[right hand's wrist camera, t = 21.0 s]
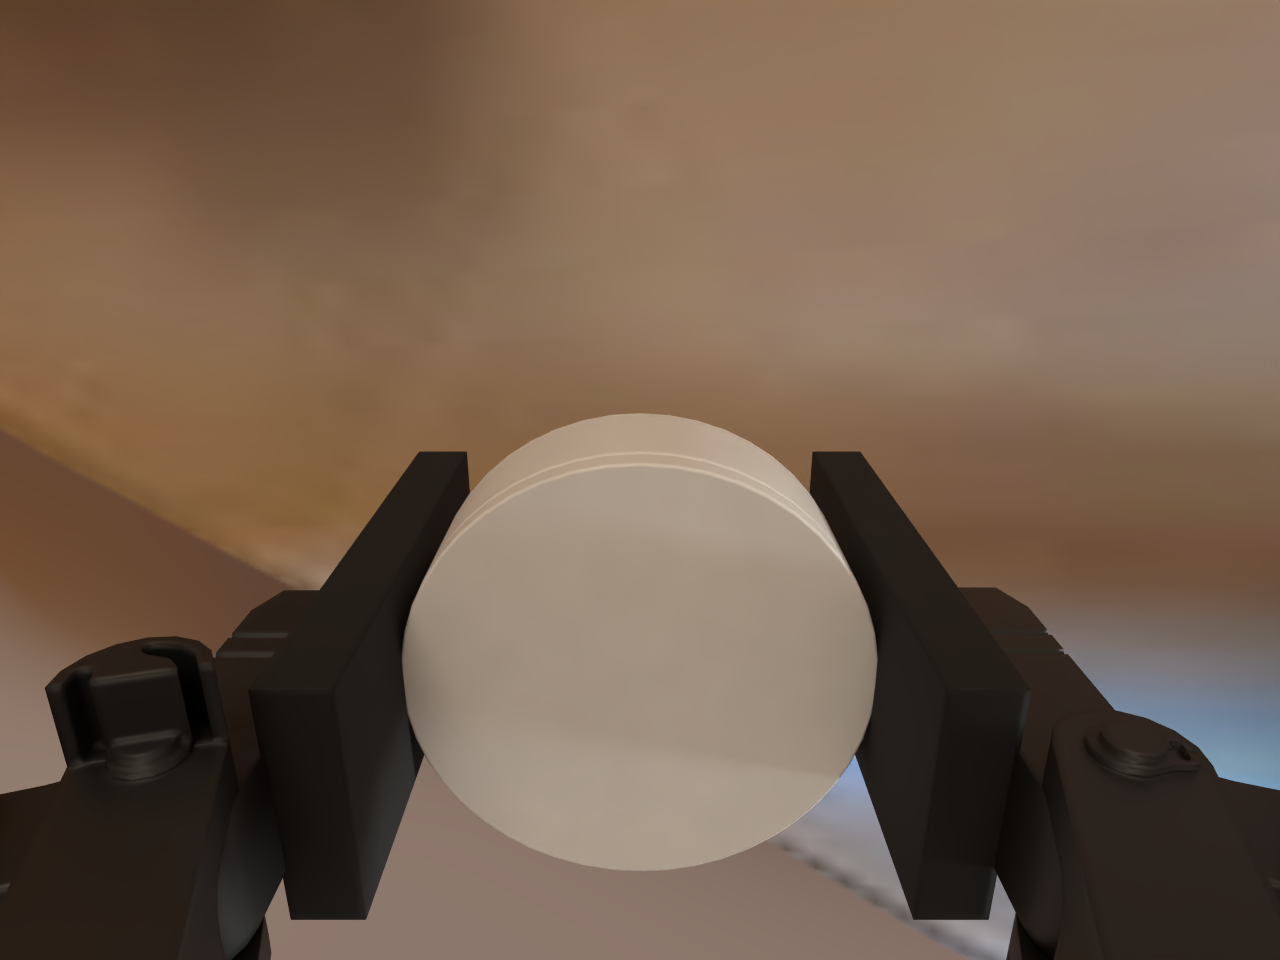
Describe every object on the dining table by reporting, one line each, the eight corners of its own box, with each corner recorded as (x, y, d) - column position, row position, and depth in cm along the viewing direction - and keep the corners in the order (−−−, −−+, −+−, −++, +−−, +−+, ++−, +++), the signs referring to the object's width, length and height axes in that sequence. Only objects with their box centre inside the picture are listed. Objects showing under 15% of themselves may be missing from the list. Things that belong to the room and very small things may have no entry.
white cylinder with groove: (479, 790, 13) (453, 893, 11) (395, 439, 11) (348, 496, 9) (852, 750, 13) (886, 850, 11) (832, 385, 11) (870, 432, 9)
